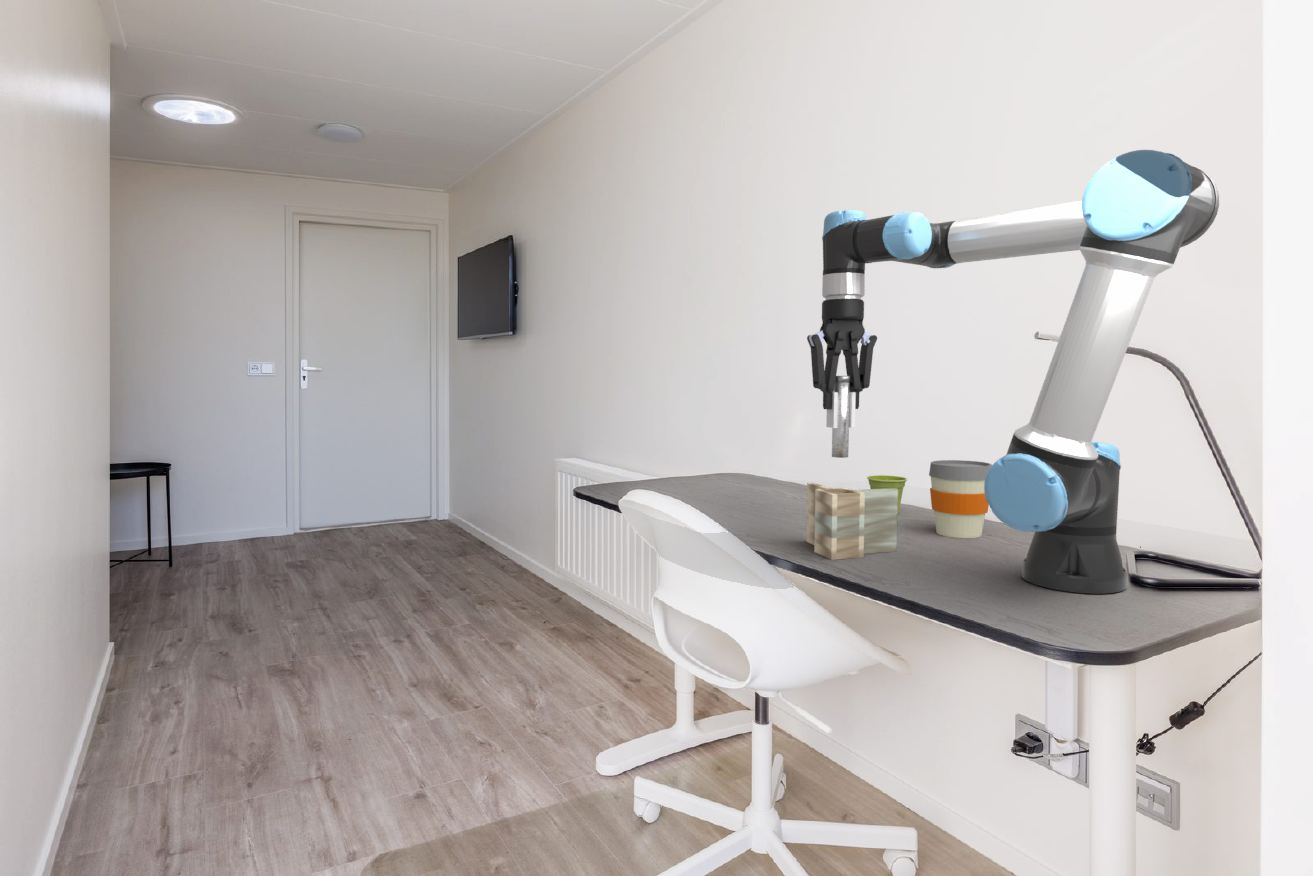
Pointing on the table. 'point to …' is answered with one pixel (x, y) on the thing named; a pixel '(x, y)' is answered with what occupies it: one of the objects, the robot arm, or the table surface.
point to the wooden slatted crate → (851, 521)
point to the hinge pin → (841, 418)
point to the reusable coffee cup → (959, 497)
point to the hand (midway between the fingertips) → (840, 427)
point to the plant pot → (888, 484)
